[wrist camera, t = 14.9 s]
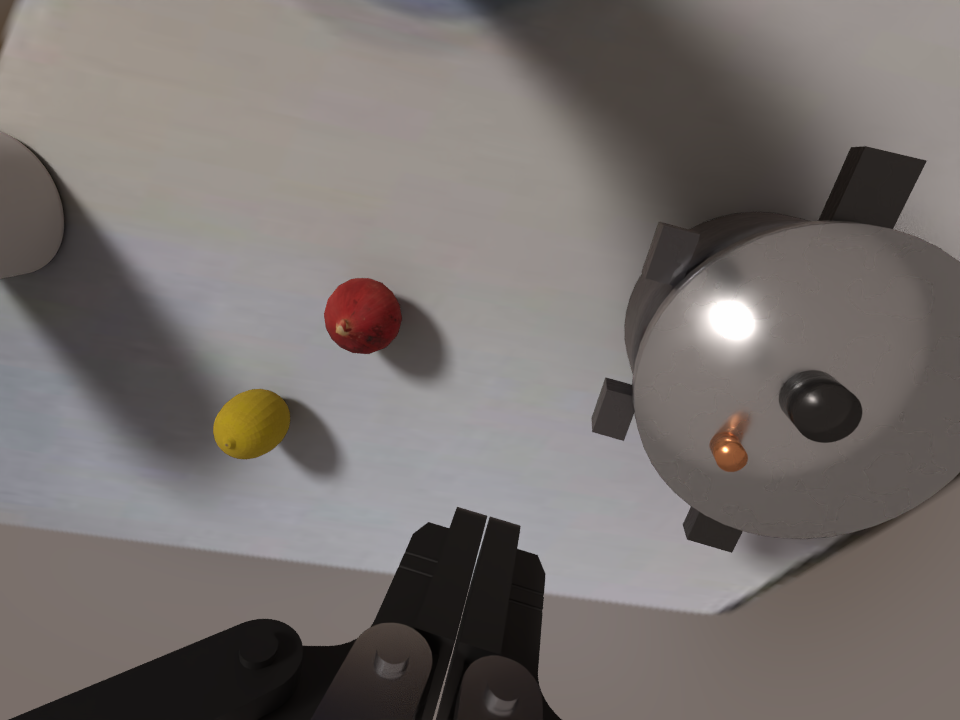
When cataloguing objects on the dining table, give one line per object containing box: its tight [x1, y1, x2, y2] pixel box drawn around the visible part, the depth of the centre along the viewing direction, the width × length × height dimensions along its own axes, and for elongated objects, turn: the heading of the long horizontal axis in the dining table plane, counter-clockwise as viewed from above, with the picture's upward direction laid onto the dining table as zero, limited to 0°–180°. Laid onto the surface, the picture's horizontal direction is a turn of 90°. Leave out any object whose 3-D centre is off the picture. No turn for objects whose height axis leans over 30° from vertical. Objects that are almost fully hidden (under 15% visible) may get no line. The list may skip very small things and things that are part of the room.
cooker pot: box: [592, 146, 926, 553], centre depth 37 cm, size 25×18×12 cm
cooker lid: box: [632, 220, 960, 539], centre depth 29 cm, size 18×18×4 cm
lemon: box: [213, 389, 290, 459], centre depth 48 cm, size 6×6×8 cm
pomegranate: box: [324, 278, 402, 354], centre depth 43 cm, size 6×6×8 cm
